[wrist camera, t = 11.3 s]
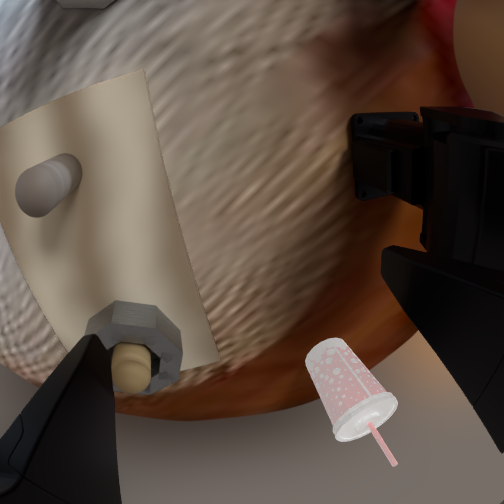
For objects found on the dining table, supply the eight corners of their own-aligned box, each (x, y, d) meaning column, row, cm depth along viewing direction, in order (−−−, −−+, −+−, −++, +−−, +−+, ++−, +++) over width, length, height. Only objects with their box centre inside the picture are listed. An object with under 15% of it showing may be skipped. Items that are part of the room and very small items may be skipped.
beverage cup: (295, 381, 29) (351, 492, 17) (300, 339, 27) (374, 467, 15) (346, 366, 31) (410, 463, 19) (357, 325, 28) (439, 430, 16)
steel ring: (137, 285, 19) (134, 307, 17) (196, 345, 23) (200, 368, 20) (72, 331, 19) (65, 353, 17) (132, 381, 23) (131, 403, 21)
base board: (145, 71, 14) (133, 52, 9) (218, 352, 25) (233, 406, 20) (-16, 139, 13) (-67, 155, 7) (95, 379, 23) (89, 432, 18)
